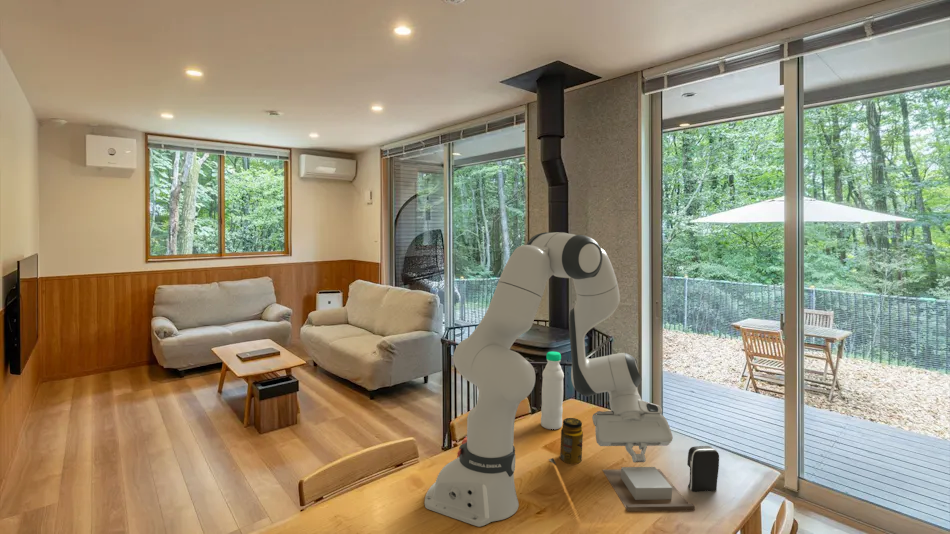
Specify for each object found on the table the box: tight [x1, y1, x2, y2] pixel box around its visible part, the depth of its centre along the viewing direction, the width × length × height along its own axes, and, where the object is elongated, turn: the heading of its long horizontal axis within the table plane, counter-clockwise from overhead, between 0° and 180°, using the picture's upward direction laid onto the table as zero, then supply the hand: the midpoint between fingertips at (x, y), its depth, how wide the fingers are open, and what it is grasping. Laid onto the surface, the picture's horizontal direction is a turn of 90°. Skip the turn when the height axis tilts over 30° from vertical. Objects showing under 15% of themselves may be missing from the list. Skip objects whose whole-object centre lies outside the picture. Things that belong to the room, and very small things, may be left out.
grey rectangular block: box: [620, 466, 672, 500], centre depth 122 cm, size 9×3×10 cm
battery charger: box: [687, 445, 720, 493], centre depth 123 cm, size 7×4×11 cm, turn 96°
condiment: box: [548, 417, 584, 466], centre depth 136 cm, size 7×8×12 cm
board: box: [602, 468, 696, 512], centre depth 122 cm, size 19×16×2 cm
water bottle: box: [540, 351, 565, 431], centre depth 160 cm, size 7×7×25 cm
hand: (639, 461), depth 126 cm, fingers closed
